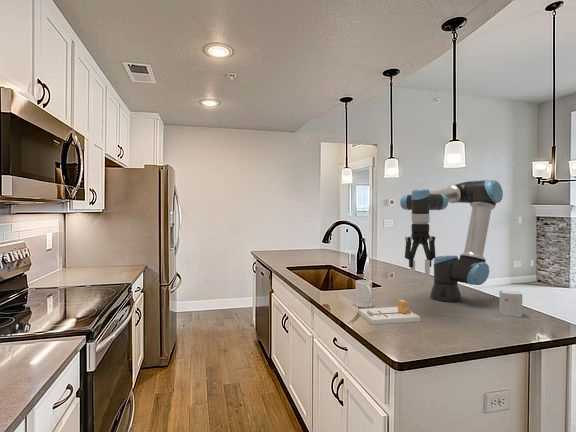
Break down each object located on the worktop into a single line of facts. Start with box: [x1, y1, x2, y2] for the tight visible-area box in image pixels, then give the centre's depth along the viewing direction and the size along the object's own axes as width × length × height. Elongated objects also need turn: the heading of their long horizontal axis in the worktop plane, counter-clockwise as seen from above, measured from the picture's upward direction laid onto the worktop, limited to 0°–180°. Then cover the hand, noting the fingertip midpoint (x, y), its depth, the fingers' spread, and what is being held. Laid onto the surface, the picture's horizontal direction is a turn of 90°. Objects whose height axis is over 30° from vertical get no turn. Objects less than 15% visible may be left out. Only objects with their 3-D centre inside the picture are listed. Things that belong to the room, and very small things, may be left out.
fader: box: [397, 299, 408, 313], centre depth 158 cm, size 2×4×5 cm, turn 10°
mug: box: [354, 279, 373, 308], centre depth 176 cm, size 12×8×12 cm
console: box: [357, 306, 421, 325], centre depth 157 cm, size 22×16×3 cm
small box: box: [498, 289, 523, 318], centre depth 160 cm, size 8×6×10 cm
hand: (420, 274), depth 159 cm, fingers open, 6 cm apart
